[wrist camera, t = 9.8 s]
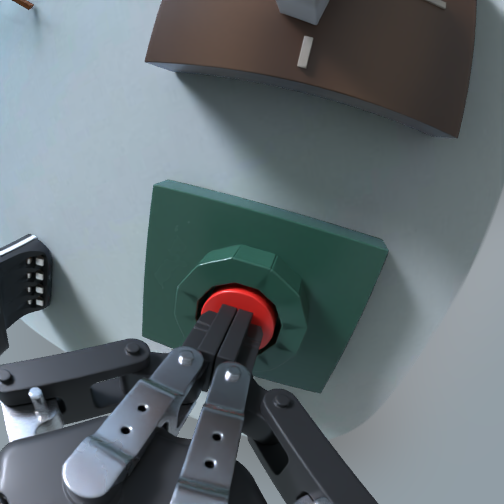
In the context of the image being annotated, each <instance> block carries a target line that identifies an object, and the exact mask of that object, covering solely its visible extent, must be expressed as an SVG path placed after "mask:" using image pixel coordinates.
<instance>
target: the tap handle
mask: <svg viewBox="0 0 504 504" xmlns="http://www.w3.org/2000/svg"><path fill="white" fill-rule="evenodd" d="M276 2H277V5H278V8H279V11H280V13H283V14H286V15H289V16H292V17H294V18H297V19H300V20H303V21H306V22H308V23H311V24H314V25H317V24H318V22H319V20H320V18H321V16H322V14H323V12H324V10H325V8H326V6H327V4H328V2H329V0H276Z"/></svg>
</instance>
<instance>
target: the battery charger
mask: <svg viewBox="0 0 504 504" xmlns="http://www.w3.org/2000/svg"><path fill="white" fill-rule="evenodd" d="M51 268H52V260H51V254H50V252H49V250H48V249H47V247H46V246H45V245H44V244H43V243H42V242H41V241H39V240H38V238H37V237H36V236H34V235H31V234H28V235H26V236H24V237H22V238H20V239H18V240H16V241H14V242H12V243H10V244H8V245H6V246H4V247H2V248H0V355H1V354H2V353H3V352H4V351H5V350H6V349H8V348H9V344H8V338H7V333H6V329H7V328H9V327H10V326H11V325H12V324H13V323H14V322H15V321H17V320H18V319H19V318H21V317H22V316H24V315H26V314H28V313H31V312H34V311H39V310H42V309H44V308H46V307H48V306H49V304H50V297H51Z"/></svg>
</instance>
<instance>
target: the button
mask: <svg viewBox="0 0 504 504" xmlns="http://www.w3.org/2000/svg"><path fill="white" fill-rule="evenodd" d="M222 304H226V305H229V306H232V307H235V308H238V309H242V310H245V311H248V312H252V313H253V317H252V321H251V324H255V325H258V326H261V328H262V331H263V337H262V341H261V344H260V347H259V350H260V349H261V348H263V347H264V346H266V345H267V344H268V343H269V341H270V340H271V338H272V336H273V333H274V329H275V325H276V321H277V317H278V312H277V309H276V306H275V305H274V304H273V303H272V302H271V301H270V300H269V299H268V298H267V297H266V296H265V295H263V294H262V293H261V292H260V291H259V290H257V289H254V288H251V287H248V286H244V285H241V284H238V283H230V284H225V285H219V286H216V287H215V289H214V290H213V292H212V293H211V295H210V296H209V298H208V299H207V301H206V302H205V304H204V305H203V308H202V311H201V314H203V313H205V312H207V311H209V310H210V311H213V312H216V313H218V311H219V309H220V308H221V306H222ZM237 311H238V310H237Z"/></svg>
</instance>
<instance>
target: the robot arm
mask: <svg viewBox="0 0 504 504" xmlns="http://www.w3.org/2000/svg"><path fill="white" fill-rule="evenodd" d="M237 310H238V311H237ZM252 317H253V313H252V312H248V311H245V310H242V309H238V308H235V307H232V306H229V305H226V304H222V306H221V308H220V309H219V311H218V313H216V312H213V311H210V310H209V311H207V312H205V313H203V314H201V316H200V317H199V319H198V321H197V322H196V324H195V325H194V328H192V330H191V332H190V333H189V335H188V336H187V338H186V340H185V341H184V343H183V344H182V346H179V347H176V348H174V349H173V350H172V351H171V352H170V353H156V352H150V349H149V347H148V345H147V344H146V343H145V342H143V341H141V340H138V339H125V340H121V341H117V342H112V343H108V344H104V345H99V346H95V347H90V348H86V349H81V350H76V351H71V352H67V353H62V354H57V355H52V356H47V357H42V358H36V359H31V360H26V361H21V362H14V363H9V364H3V365H0V404H1V406H2V409H3V414H4V419H5V424H6V428H7V433H8V437H9V441H10V443H8V444H7V445H6V446H5V447H4V448H3V449H2V450H1V452H0V504H267V502H266V500H265V499H264V497H263V495H262V493H261V491H260V490H259V488H258V486H257V484H256V482H255V480H254V478H253V477H252V475H251V474H250V472H249V471H248V470H247V469H246V468H245V467H244V466H243V465H242V464H241V463H239V462H238V461H236V457H237V452H238V447H239V442H240V437H241V432H242V433H244V434H246V435H247V436H248V441H249V443H250V445H251V446H252V448H253V450H254V452H255V453H256V455H257V457H258V459H259V460H260V462H261V464H262V465H263V467H264V469H265V470H266V472H267V473H268V475H269V477H270V479H271V480H272V482H273V483H274V485H275V487H276V488H277V490H278V491H279V493H280V494H281V496H282V498H283V499H284V501H285V502H286V503H287V504H378V503H377V502H376V500H375V499H374V498H373V497H372V495H371V494H370V493H369V492H368V491H367V489H366V488H365V487H364V486H363V484H362V483H361V482H360V481H359V479H358V478H357V477H356V476H355V474H354V473H353V472H352V471H351V469H350V468H349V467H348V466H347V464H346V463H345V462H344V461H343V459H342V458H341V456H340V455H339V454H338V453H337V451H336V450H335V449H334V448H333V446H332V445H331V444H330V442H329V441H328V440H327V438H326V437H325V436H324V434H323V433H322V432H321V430H320V429H319V428H318V426H317V425H316V424H315V422H314V421H313V420H312V418H311V417H310V416H309V414H308V413H307V411H306V410H305V409H304V407H303V406H302V405H301V403H300V402H299V401H298V399H297V398H296V397H295V396H294V395H293V394H292V393H291V392H289V391H287V390H284V389H272V390H270V391H267V390H266V389H264V388H262V387H261V386H259V385H258V384H257V383H256V382H255V380H254V378H253V375H252V371H253V367H254V364H255V361H256V357H257V354H258V351H259V347H260V344H261V341H262V337H263V331H262V328H261V326H258V325H255V324H251V321H252ZM116 377H118V378H116ZM112 378H114V379H112ZM108 379H110V380H108ZM104 380H106V381H104ZM101 381H102V382H101ZM97 382H99V383H97ZM209 387H210V389H209ZM208 389H209V392H208V395H207V398H206V401H205V404H203V407H202V410H201V413H200V416H199V419H198V422H197V425H196V428H195V431H194V434H193V438H192V439H185V438H179V437H177V435H178V433H179V431H180V429H181V428H182V426H183V424H184V423H185V421H186V419H187V418H188V416H189V414H190V413H191V411H192V409H193V408H194V406H195V404H196V401H197V398H198V397H199V395H200V393H201V390H202V391H205V392H207V391H208ZM111 412H112V413H111ZM107 413H111V414H110V415H109V416H104V417H99V418H96V419H92V420H89V421H85V422H83V423H79V424H75V425H72V426H68V427H65V428H63V425H65V424H69V423H73V422H78V421H81V420H85V419H89V418H93V417H97V416H100V415H104V414H107Z"/></svg>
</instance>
